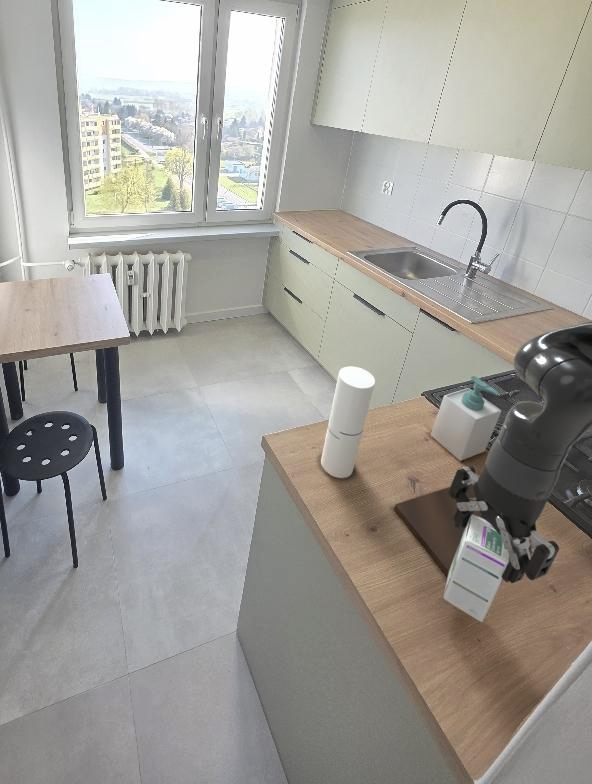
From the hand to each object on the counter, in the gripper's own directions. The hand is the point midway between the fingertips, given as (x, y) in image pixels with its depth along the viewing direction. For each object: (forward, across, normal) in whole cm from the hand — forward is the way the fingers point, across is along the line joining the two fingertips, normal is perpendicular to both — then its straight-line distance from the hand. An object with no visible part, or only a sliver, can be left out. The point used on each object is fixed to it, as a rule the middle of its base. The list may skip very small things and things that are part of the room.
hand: (483, 550), depth 64 cm
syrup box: (+11, 0, 0) cm, 11 cm away
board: (+15, +11, -13) cm, 23 cm away
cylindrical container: (+15, +31, +2) cm, 35 cm away
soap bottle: (+16, +28, -31) cm, 45 cm away
